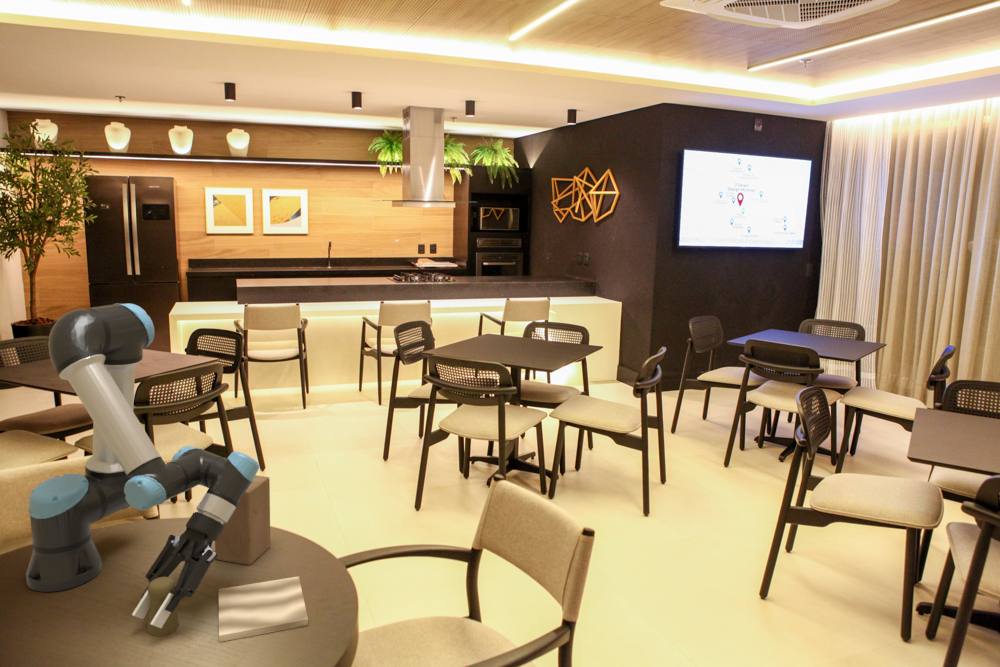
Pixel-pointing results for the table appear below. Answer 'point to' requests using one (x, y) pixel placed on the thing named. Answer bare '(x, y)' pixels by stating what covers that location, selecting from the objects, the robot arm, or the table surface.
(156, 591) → the olive pawn
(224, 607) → the birch board
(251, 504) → the wooden block
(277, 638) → the table surface
